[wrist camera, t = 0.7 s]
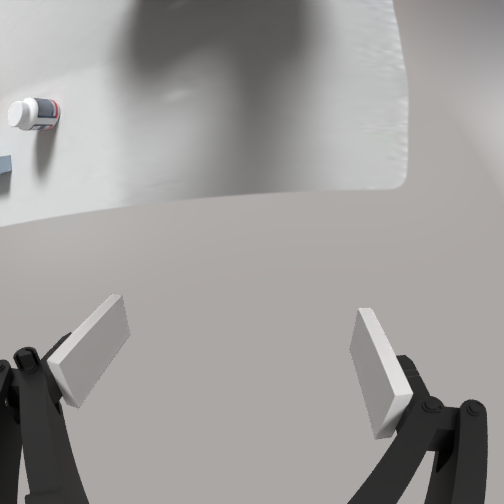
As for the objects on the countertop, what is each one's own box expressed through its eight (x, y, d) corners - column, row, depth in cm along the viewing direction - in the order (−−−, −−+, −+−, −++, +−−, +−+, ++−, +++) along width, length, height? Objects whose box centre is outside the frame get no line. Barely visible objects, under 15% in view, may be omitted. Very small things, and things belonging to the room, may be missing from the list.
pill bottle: (49, 95, 37) (14, 91, 28) (65, 108, 38) (29, 104, 29) (35, 121, 38) (1, 121, 30) (51, 135, 39) (15, 136, 31)
